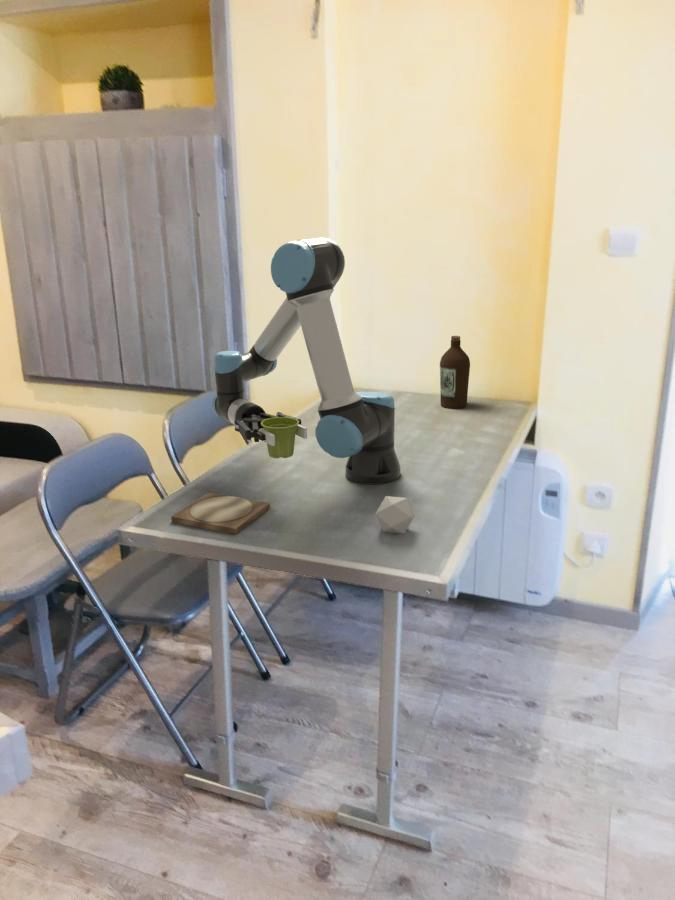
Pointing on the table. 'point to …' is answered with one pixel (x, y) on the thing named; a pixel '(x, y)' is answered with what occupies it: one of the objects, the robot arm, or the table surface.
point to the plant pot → (281, 435)
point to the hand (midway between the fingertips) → (289, 436)
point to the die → (395, 514)
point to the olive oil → (454, 376)
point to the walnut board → (221, 513)
